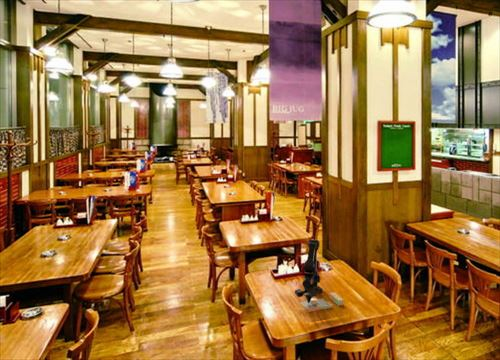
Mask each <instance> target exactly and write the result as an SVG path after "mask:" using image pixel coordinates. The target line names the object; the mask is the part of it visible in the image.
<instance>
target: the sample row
mask: <svg viewBox="0 0 500 360" xmlns="http://www.w3.org/2000/svg"><path fill="white" fill-rule="evenodd" d="M329 299H330V300H331V301H332V302H333V303H335V304H336V305H337V306H338V307H339V306H343V305H344V299H343V298H342V297H341V296H339V294H337V293H336V292H335V291H333V292H329Z"/></svg>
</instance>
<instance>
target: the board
mask: <svg viewBox="0 0 500 360" xmlns="http://www.w3.org/2000/svg"><path fill="white" fill-rule="evenodd" d="M317 299H318V304H315V305H312V304H311V303H308V302H307V300H305V301H302V302H301V301H300V302H299V303H300V304H301V306H302V307H303V308H304V309H305V310H306V311H307V313H310V312H314V311H321V310H327V309H332V308H333V304H332V303H331V302H329V301H326V299H324V298H323V297H322V298H317Z"/></svg>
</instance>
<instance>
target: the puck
mask: <svg viewBox="0 0 500 360" xmlns="http://www.w3.org/2000/svg"><path fill="white" fill-rule="evenodd" d="M318 299H319V298H316V297H312V298H311V300H310V303H311V304H312V305H315V304H318Z"/></svg>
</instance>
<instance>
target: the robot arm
mask: <svg viewBox="0 0 500 360" xmlns="http://www.w3.org/2000/svg"><path fill="white" fill-rule="evenodd" d="M307 247H308V252H307V258H306V260H305V262H304V264H303V266H302V276H303V277H304V278H303V280H302V287H303V290H302V289H300V288H298V289H295V290H294V294H295V296H296V297H297V298H301V297H305V299H306V300H305V301H307V302H308V303H310V300H311V298H315V297H317V296H318V295H319V294H323V288H322V287H321V286H319V285H318V284H320V282H321V277H320V274H319V270H318V269H317V267H318V266H317V264H318V263H317V262H318V261H317V258H318V257H317V256H318V255H317V254H318V250H319V248H320V247H321V242H320V240H319V239H309V240H308V241H307Z"/></svg>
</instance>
